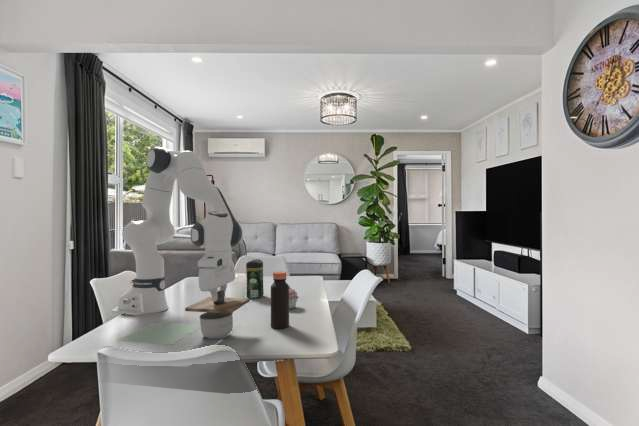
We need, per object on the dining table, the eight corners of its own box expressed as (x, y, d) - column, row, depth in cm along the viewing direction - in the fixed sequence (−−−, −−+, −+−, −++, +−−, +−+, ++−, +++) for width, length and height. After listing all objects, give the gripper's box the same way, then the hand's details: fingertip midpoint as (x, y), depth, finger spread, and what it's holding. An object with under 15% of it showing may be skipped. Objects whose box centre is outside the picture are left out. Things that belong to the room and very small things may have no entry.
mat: (116, 342, 119) (116, 340, 119) (154, 323, 138) (154, 322, 138) (171, 346, 115) (171, 344, 115) (203, 326, 135) (203, 325, 135)
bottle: (284, 330, 130) (284, 274, 130) (267, 328, 132) (267, 273, 132) (292, 324, 137) (291, 271, 136) (275, 322, 139) (275, 270, 139)
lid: (185, 311, 119) (185, 295, 119) (208, 299, 134) (208, 286, 134) (231, 313, 116) (231, 297, 116) (249, 301, 131) (249, 287, 131)
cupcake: (299, 310, 157) (299, 287, 156) (277, 310, 156) (277, 287, 156) (298, 304, 166) (298, 282, 166) (278, 305, 165) (278, 283, 165)
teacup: (223, 343, 117) (223, 318, 117) (193, 341, 119) (193, 317, 119) (241, 329, 131) (241, 307, 131) (213, 328, 133) (213, 306, 133)
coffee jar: (249, 294, 187) (249, 258, 187) (265, 294, 186) (264, 258, 186) (244, 299, 177) (244, 260, 177) (260, 299, 176) (260, 261, 176)
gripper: (223, 255, 136) (223, 292, 136) (194, 262, 116) (195, 306, 116) (239, 255, 135) (239, 292, 135) (213, 263, 115) (213, 306, 115)
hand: (218, 299), depth 125 cm, fingers closed on lid, 4 cm apart
